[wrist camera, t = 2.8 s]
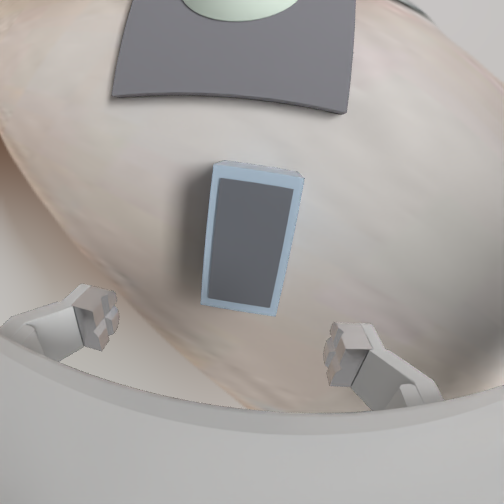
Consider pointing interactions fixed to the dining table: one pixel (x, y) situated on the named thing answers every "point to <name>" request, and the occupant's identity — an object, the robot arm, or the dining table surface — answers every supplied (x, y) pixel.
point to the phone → (249, 236)
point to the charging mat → (240, 50)
